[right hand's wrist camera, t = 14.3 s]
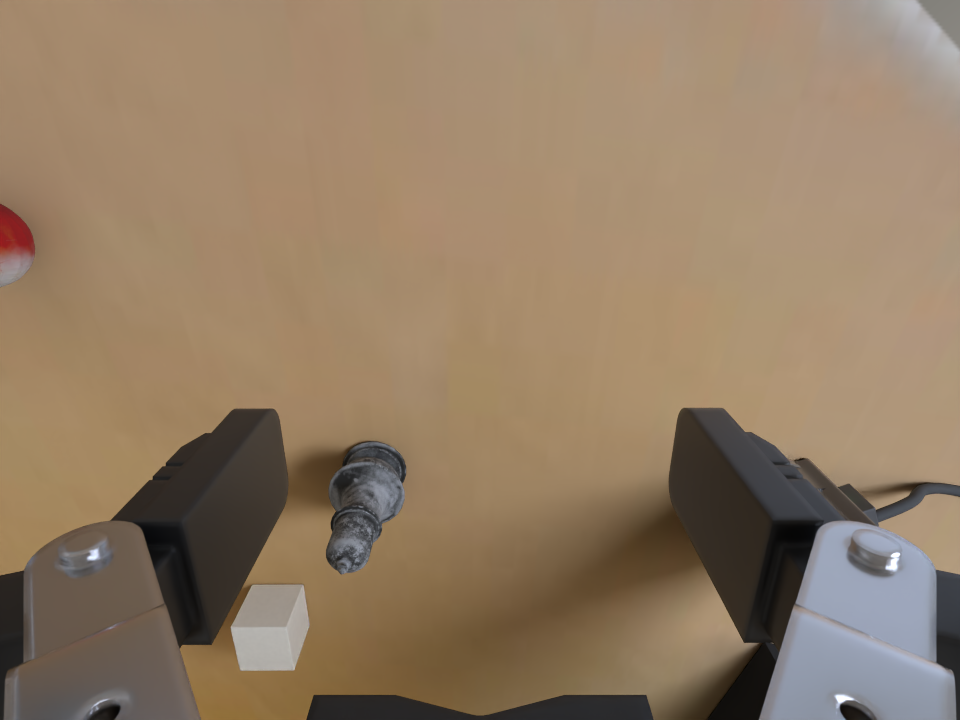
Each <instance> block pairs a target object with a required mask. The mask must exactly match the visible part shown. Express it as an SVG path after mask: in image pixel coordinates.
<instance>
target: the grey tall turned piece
mask: <svg viewBox="0 0 960 720" xmlns="http://www.w3.org/2000/svg"><path fill="white" fill-rule="evenodd" d="M405 476H406V465H405V462H404V459H403V458H402V456H401V455H400V453H398V452H397V451H396V450H395V449H394V448H392V447H391V446H389V445H387V444H384V443H380V442H365V443H361V444H359V445H356V446H354V447H353V448H352V449H351V450H350V451H349V452H348V453H347V455H346V456H345V458H344V461H343V467H342V468H341V469H339V470H338V471H337V472H336V473H335V474H334V476H333V477H332V479H331V481H330V485H329V498H330V501H331V504H332V506H333V507H334V508H335V510H336V511H337V512H335V514H334V515H333V517H332V520H331V529H332V535H331V538H330V540H329V543H328V546H327V549H326V558H327V561H328V562H329V564H330V565H331V566H332V567H333V568H334V569H335V570H337V571H339V573H340V574H344V573H352V572H355V571H358V570H360V569H361V568H363V567H364V566H365V564H366V563H367V561H368V559H369V556H370V552H371V548H372V544H373V542H375V541H376V540H377V539H378V538H379V536H380V534H381V531H382V523H385V522H387V521H389V520H391V519H392V518H393V517H395V516H396V515H397V514H398V512H399V511H400V510H401V508H402V505H403V502H404V488H403V485H402V483H403V482H404V479H405Z"/></svg>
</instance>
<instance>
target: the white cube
mask: <svg viewBox="0 0 960 720" xmlns="http://www.w3.org/2000/svg"><path fill="white" fill-rule="evenodd" d="M309 626H310V624H309V618H308V611H307V605H306V598H305V592H304V586H303V584H282V585H252V586H251V588H250V590H249V592H248V594H247V596H246V598H245V600H244V602H243V604H242V606H241V608H240V610H239V612H238V614H237V616H236V618H235V620H234V622H233V624H232V626H231V632H232V637H233V641H234V646H235V650H236V654H237V659H238V663H239V667H240V671H276V670H294V669H295V666H296V663H297V660H298V658H299V655H300V652H301V649H302V646H303V643H304V640H305V637H306V634H307V632H308V629H309Z"/></svg>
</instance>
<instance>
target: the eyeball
mask: <svg viewBox="0 0 960 720" xmlns="http://www.w3.org/2000/svg"><path fill="white" fill-rule="evenodd" d="M34 256H35V246H34V241H33V236H32V234H31V232H30V229H29V228H28V226H27V225H26V223H25V222H24V221H23V220H22V219H21V218H20V217H19V216H18V215H16V214H15V213H14V212H13V211H11V210H10V209H9V208H7V207H5V206H3V205H1V204H0V287H2V286H5V285H8V284H11V283H13V282H15V281H17V280H18V279H20V278H21V277H22V276H23V275H24V274H25V273H26V272H27V271H28V269H29V268H30V267H31V265H32V263H33V260H34Z"/></svg>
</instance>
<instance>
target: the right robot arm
mask: <svg viewBox="0 0 960 720" xmlns="http://www.w3.org/2000/svg"><path fill="white" fill-rule="evenodd" d="M669 493H670V498H671V502H672V505H673V507H674V510H675V511H676V513H677V515H678V517H679V519H680V521H681V523H682V525H683V527H684V529H685V531H686V532H687V534H688V536H689V538H690V540H691V542H692V544H693V546H694V548H695V550H696V552H697V554H698V555H699V557H700V559H701V561H702V563H703V565H704V567H705V569H706V571H707V573H708V575H709V576H710V578H711V580H712V582H713V584H714V586H715V588H716V590H717V592H718V594H719V596H720V598H721V599H722V601H723V603H724V605H725V607H726V609H727V611H728V613H729V615H730V617H731V619H732V620H733V622H734V624H735V626H736V628H737V630H738V632H739V634H740V636H741V638H742V640H743V642H744V643H774V645H775V647H776V648H777V650H778V652H779V656H778V659H777V662H776V665H775V669H774V672H773V675H772V679H771V682H770V685H769V688H768V692H767V695H766V698H765V702H764V705H763V708H762V711H761V715H760V718H759V720H960V575H959V574H954V573H949V572H944V571H939V570H936V569H935V567H934V565H933V563H932V562H931V560H930V559H929V558H928V556H927V555H925V554H924V553H923V552H922V551H921V550H920V549H919V548H918V547H916V546H915V545H914V544H912V543H911V542H909V541H907V540H906V539H904V538H902V537H900V536H899V535H897V534H894V533H892V532H890V531H888V530H885V529H882V528H880V527H879V526H878V522H881V521H883V520H886V519H888V518H891V517H894V516H896V515H899V514H901V513H903V512H906V511H908V510H910V509H912V508H913V507H915V506H916V505H918V504H919V503H920V502H921V501H922V500H923V498H924V496H925V495H928V494H948V495H954V496H959V497H960V486H956V485H950V484H941V483H929V484H922V485H918V486H917V487H916V488H914V489H913V490H912V492H911V493H910V495H909V496H908V497H906V498H904V499H902V500H900V501H898V502H895V503H893V504H890V505H888V506H885V507H883V508H880V509H877V510H875V507H873V506H872V505H871V504H870V503H869V502H868V501H867V500H866V499H865V498H864V497H863V496H862V495H861V494H860V493H859V492H857V491H856V490H855V489H854V488H853V487H852V486H851V485H850V484H846V485H843V486H840V487H837V486H836V485H835V484H834V483H833V482H832V481H831V480H830V479H829V478H828V477H827V476H826V475H825V474H824V473H823V472H822V471H820V470H819V469H818V468H817V467H816V466H815V465H814V464H813V463H812V462H811V461H810V460H809V459H803V460H800V461H792V460H789V459H787V458H786V457H785V456H784V455H783V454H782V453H781V452H780V451H779V450H778V449H777V448H776V447H775V446H774V445H772V444H771V443H769V442H767V441H765V440H764V439H762V438H760V437H759V436H757V435H755V434H753V433H752V432H744V430H743V429H742V428H741V427H740V426H739V425H738V424H737V423H736V422H735V420H734V419H733V418H732V417H731V416H730V415H729V414H728V413H727V412H726V410H724V409H723V408H683V409H682V410H681V411H680V413H679V415H678V419H677V425H676V432H675V438H674V445H673V452H672V459H671V466H670V472H669ZM287 494H288V473H287V466H286V459H285V453H284V446H283V439H282V433H281V426H280V420H279V416H278V414H277V412H276V411H275V410H274V409H234V410H232V411H231V412H230V413H229V414H228V415H227V416H226V417H225V419H224V420H223V421H222V422H221V423H220V424H219V425H218V426H217V427H216V428H215V430H214V431H213V432H212V433H205V434H203V435H201V436H200V437H198V438H196V439H194V440H193V441H191V442H189V443H187V444H186V445H184V446H182V447H181V448H180V449H179V450H178V451H177V452H176V453H175V454H174V455H173V456H172V457H171V458H170V459H169V460H168V461H167V462H166V466H163V467H162V468H161V469H160V470H159V471H158V472H157V473H156V474H155V475H154V476H153V480H149V481H148V482H147V483H146V484H145V485H144V486H143V487H142V488H141V489H140V490H139V491H138V492H137V494H136V495H135V496H134V497H133V498H132V499H131V500H130V501H129V502H128V503H127V504H126V505H125V506H124V507H123V508H122V509H121V510H120V511H119V512H118V513H117V514H116V515H115V516H114V517H113V518H112V519H111V520H110V521H105V522H99V523H94V524H90V525H87V526H83V527H80V528H78V529H75V530H72V531H70V532H68V533H66V534H63V535H61V536H60V537H58V538H56V539H54V540H53V541H51V542H49V543H48V544H46V545H45V546H44V547H42V548H41V549H40V550H39V551H38V552H37V553H36V554H35V555H33V556H32V558H31V559H30V560H29V562H28V563H27V565H26V567H25V569H24V571H20V572H15V573H10V574H5V575H1V576H0V720H201V718H200V715H199V711H198V708H197V705H196V702H195V698H194V695H193V692H192V688H191V685H190V682H189V679H188V675H187V672H186V669H185V665H184V662H183V659H182V656H181V652H180V648H181V646H182V645H212V643H213V641H214V639H215V637H216V635H217V634H218V632H219V630H220V628H221V626H222V624H223V622H224V620H225V618H226V617H227V615H228V613H229V611H230V609H231V607H232V605H233V603H234V601H235V600H236V598H237V596H238V594H239V592H240V590H241V588H242V586H243V584H244V583H245V581H246V579H247V577H248V575H249V573H250V571H251V569H252V567H253V565H254V564H255V562H256V560H257V558H258V556H259V554H260V552H261V550H262V548H263V547H264V545H265V543H266V541H267V539H268V537H269V535H270V533H271V531H272V530H273V528H274V526H275V524H276V522H277V520H278V518H279V516H280V514H281V513H282V511H283V509H284V506H285V503H286V500H287ZM307 720H653V716H652V713H651V710H650V706H649V703H648V699H647V696H646V695H563V696H559V697H555V698H551V699H547V700H544V701H540V702H536V703H532V704H528V705H524V706H520V707H517V708H513V709H509V710H505V711H501V712H497V713H493V714H489V715H484V716H476V715H471V714H467V713H463V712H459V711H455V710H451V709H447V708H443V707H440V706H436V705H432V704H428V703H424V702H420V701H416V700H413V699H409V698H405V697H401V696H397V695H314V696H313V699H312V703H311V706H310V710H309V713H308V716H307Z"/></svg>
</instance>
